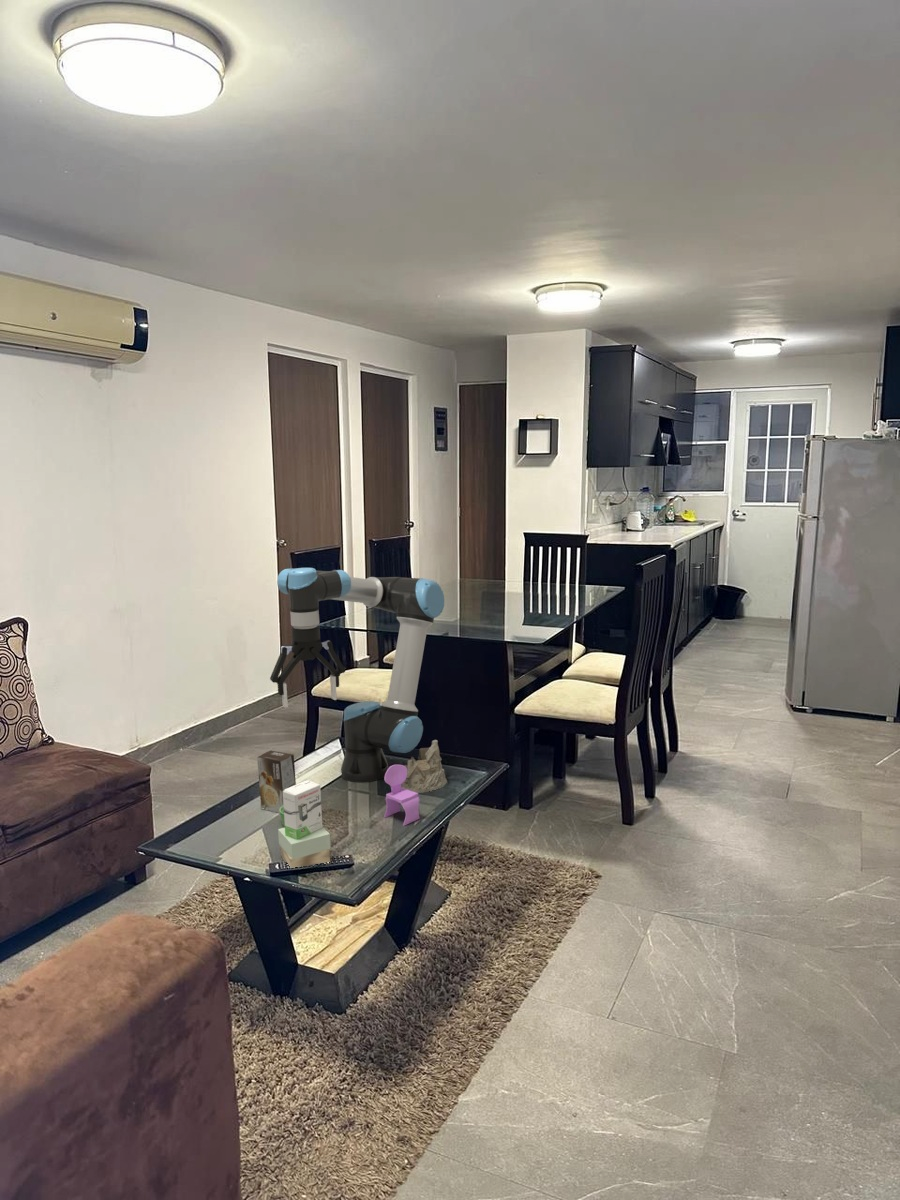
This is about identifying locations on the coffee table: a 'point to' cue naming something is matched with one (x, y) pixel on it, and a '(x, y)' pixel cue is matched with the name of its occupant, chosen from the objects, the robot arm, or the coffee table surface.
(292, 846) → the top slab
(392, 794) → the toy chair
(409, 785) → the ceramic cottage
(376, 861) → the coffee table surface
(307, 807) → the ink box
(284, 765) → the coffee box
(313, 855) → the bottom slab
